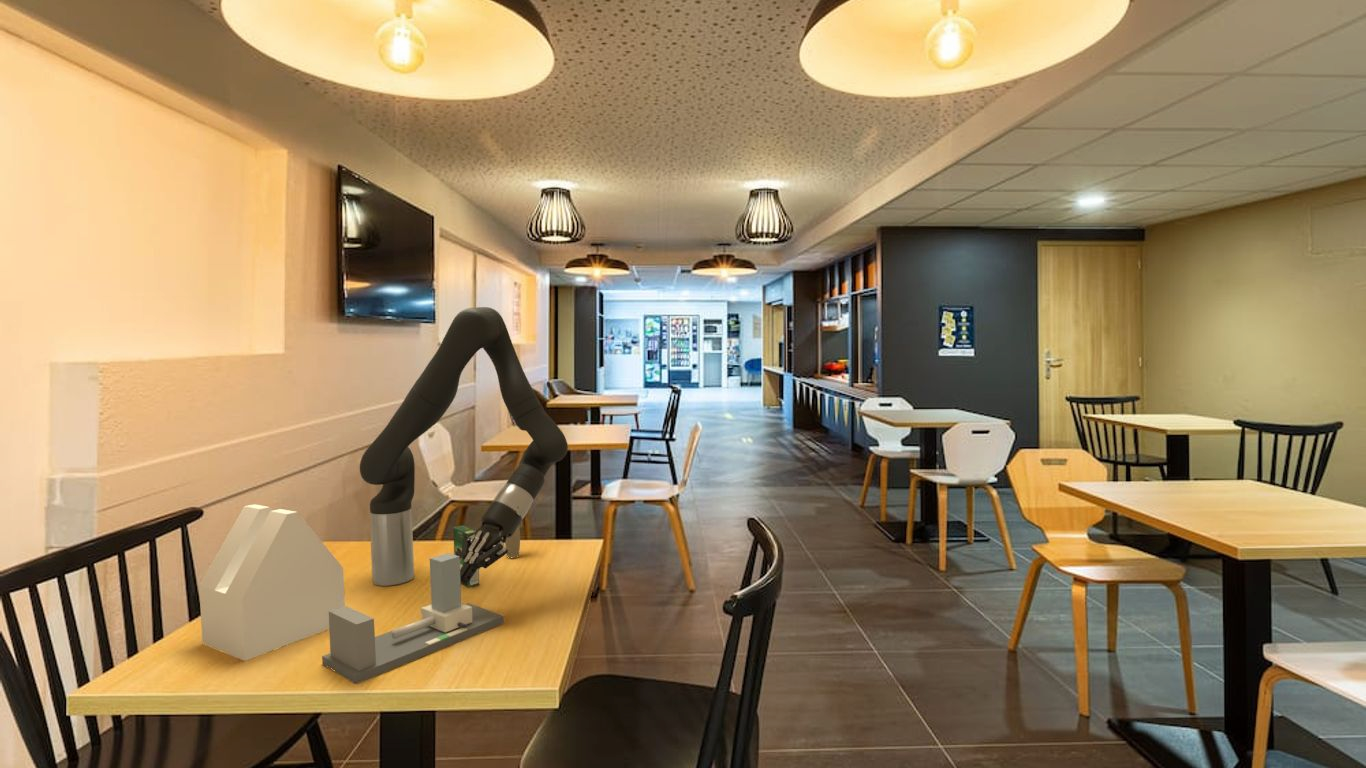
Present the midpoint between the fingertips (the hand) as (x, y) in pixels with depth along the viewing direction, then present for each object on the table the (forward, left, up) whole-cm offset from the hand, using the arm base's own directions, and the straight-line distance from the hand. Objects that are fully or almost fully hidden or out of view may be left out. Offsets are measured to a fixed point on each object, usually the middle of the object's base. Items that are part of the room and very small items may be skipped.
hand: (460, 582), depth 132 cm
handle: (-28, +35, -9) cm, 46 cm away
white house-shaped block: (-28, -23, -9) cm, 38 cm away
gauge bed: (0, -9, -9) cm, 13 cm away
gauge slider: (+1, -7, -7) cm, 10 cm away
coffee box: (-21, +16, -9) cm, 28 cm away
